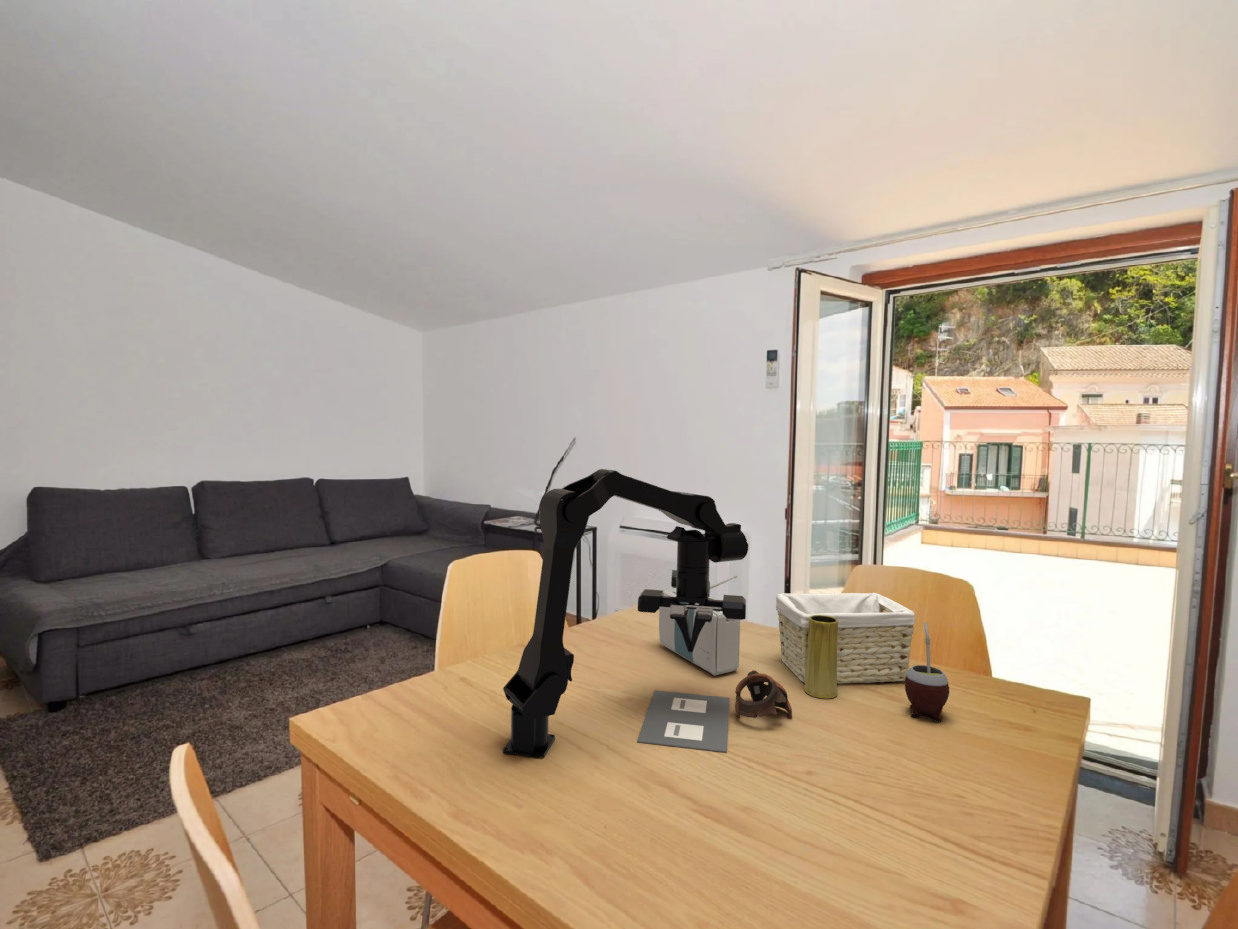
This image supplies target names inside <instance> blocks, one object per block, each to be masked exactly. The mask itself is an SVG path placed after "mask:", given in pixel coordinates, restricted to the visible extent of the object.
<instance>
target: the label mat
mask: <svg viewBox="0 0 1238 929" xmlns="http://www.w3.org/2000/svg"><path fill="white" fill-rule="evenodd" d="M652 693H653V694H652V695H651V699H650V701H649V702H650V703H649V705H648V709H647V711H646V714H645V716H644V719H643V723H642V725H641V727H640V731H639V734H638V737H637V740H636V743H638V744H639V743H641V744H648V745H658V746H666V747H673V748H680V749H681V748H682V749H690V748H691V750H698V749H700V750H701V751H710V752H716V751H717V752H718V753H726V754H728V744H729V743H728V742H729V741H728V740H729V738H728V737H729V736H728V735H729V718H730V696H729V697H728V696H727V697H726V696H717V695H707V694H698V693H697V694H695V693H687V692H686V693H685V692H677V691H676V692H675V691H670V690H669V691H668V690H666V691H665V690H658V689H654V690H653V692H652Z"/></svg>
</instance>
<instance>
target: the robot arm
mask: <svg viewBox="0 0 1238 929" xmlns="http://www.w3.org/2000/svg"><path fill="white" fill-rule="evenodd" d="M612 497H616V498H619V499H622V500H626V501H629V502H632V503H636V504H638V505H641V506H645V507H647V508H651V509H654V510H656V511H659V512H661V513H662V514H664V515H665V517H668V518H669V519H671V520H672V521H674V522H676V523H678V524H680V525H684V526H689V527H691V529H685V527H682V526H678V525H676V526H675V527H674V528H673V530H672V531H671V532H669V533H668V534H667V535H666V539H667V540H670V541H673V542H676V543H677V545H676V546H677V548H676V549H677V550H676V570H675V569H671V579H670V580H671V582H670V584H671V588H673V589H676V597H670V596H664V593H663V591H664V590H663V589H648V588H647V589H644V590H643V591H642V592H641V593H640V594H639V596H638V598H637V612H638V613H639V612H640V613H650V614H655V613H656V612H658V611H659V608H660V607H670V610H671V614H670V618H671V619H675V620H676V622H677V624H678V626H679V628H680V630H681V632H682V635H683V638H684V641H685V644H686V647H687V650H688V652H693V650H694V647H695V645H696V642H697V639H698V636H699V634H700V632H701V630H702V628H703V626H704V624H705V622H711V621H712V616H713V611H723V615H724V616H725V617H726V618H727V619H739V620H740V621H743V620H746V619H747V618H746V614H747V611H746V610H747V604H746V603H747V599H746V598H745V597H744V596H743V595H733V594H732V595H731V594H730V595H729V594H723V597H722V598H723V599H722V600H721V599H718V600H711V599H708V597H709V596H710V597H711V595H710V593H711V589H710V587H711V583H710V561H711V562H712V563H723V562H725V563H726V562H733V561H740V560H741V561H742V560H743V559H744V558H746V557H747V555H748V552H749V543H748V540H747V537H746V536H745V533H744V532H743V531H742V525H741V524H740V523H737V522H736V523H735V522H730V523H729V522H728V523H726V524H725V522H724V520H723V519H722V517H721V515H720V514H719V512H718V509H717V504H716V500H715V499H714V498H712V497H710V496H709V495H704V494H703V495H701V494H697V493H691V492H690V493H689V492H684V491H683V492H681V491H673V490H669V489H666V488H664V487H663V488H662V487H660V486H657V485H655V484H652V483H648V482H645V481H644V480H640V479H637V478H634V477H632V476H628V475H624V474H622V473H621V472H619V471H617V470H612V469H605V468H600V469H597V470H596V471H594V472H592V473H591V474H589V475H588V476H585V477H583V478H580V479H578V480H576V481H573V482H571V483H568V484H567V485H565V486H563V487H562V488H553V489H550V490H549V491H547V492H546V493H544V495H542V496H541V499H540V502H539V526H540V530H541V534H542V539H543V544H544V548H543V555H542V557H543V558H542V563H541V572H540V578H539V586H538V594H537V603H536V608H535V615H534V616H535V617H534V624H533V631H532V635H531V638H530V639H529V640H528V642H527V644H526V645H525V647H524V648H523V652H522V655H521V659H520V662H519V664H518V669H517V671H516V672H515V673H514V674H513V676H512V677H511V678H510V679H509V680H508V681H507V683H506V684H505V685H504V686H503V688H502V690H503V692H504V693H503V694H504V695H505V698H506V700H507V701H508V702H510V703H511V704H512V705H511V709H510V710H511V712H510V720H511V721H510V723H511V724H510V739H509V740H508V742H507V743H506V744H505V745H504V747H503V748H502V753H503V754H508V755H517V756H523V757H533V758H541V759H542V758H544V757H545V756H546V755H547V753H548V751H549V750H550V748H551V746H552V744H553V743H554V741H555V740H556V735H555V734H551V733H549V718H550V717H549V716H554V715H555V714H556V712H557V708H558V705H559V702H560V699H561V696H562V695H563V694H565V692H566V691H567V689H568V684H569V682H572V681H573V676H572V668H573V665H574V660H575V654H574V653H572V652H571V651H570V650H568V649H567V648H566V647H565V645H564V633H565V632H564V631H565V625H566V624H565V623H566V617H567V610H568V600H569V593H570V586H571V580H572V578H571V577H572V571H573V570H572V569H573V563H574V555H575V551H576V547H577V546H578V544H579V543H580V541H581V539H582V538H583V536H584V534H585V532H586V530H587V525H588V521H589V518H590V516H592V515H593V514H595V513H596V512H598V511H600V510H601V509H602V508H603V507H604V506H605V504H607V502H608V501H609V500H610V499H612ZM700 530H701V531H704V533H702V532H701V531H700ZM681 602H682V603H681ZM685 603H689V604H685ZM695 603H696V604H695ZM689 609H696V615H695V620H694V626H693V633H692V639H691V634H690V623H689Z"/></svg>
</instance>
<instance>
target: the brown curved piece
mask: <svg viewBox="0 0 1238 929" xmlns="http://www.w3.org/2000/svg"><path fill="white" fill-rule="evenodd" d="M766 683H767V684H766ZM744 688H747V690H748V691H749V694H750V697H751V700H752V701H747V700H745V699H743V698H742V696H741V692H742V691H743V690H744ZM734 692H735V693H734V694H735V702H734V703H735V704H734V710H735V714H736V715H737V718H739V719H740V718H741V717H744V718H752V719H756V718H758V717H759V718H760V717H764V716H766V715H770V714H772V715H775V716H776V715H777V716H778V712H777V708H780V709H783V710H784V711H786V712H787V714H788V716H789V719H793V709H792V705H791V704H790V701H789V699H788V698H789V696H788V693H787V690H786V689H785V687H784V686H783V685H782V684H781V683H780V682H778V681H776V680H774V678H773V677H771V676H770V675H768V674H765V673H759V672H758V671H757V670H751V671H749V672H748V673H747V675H746V676H745V677H744V678H743V679H741V680H740V681H739V682H738V684H737V685H736V687H735V690H734Z"/></svg>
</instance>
